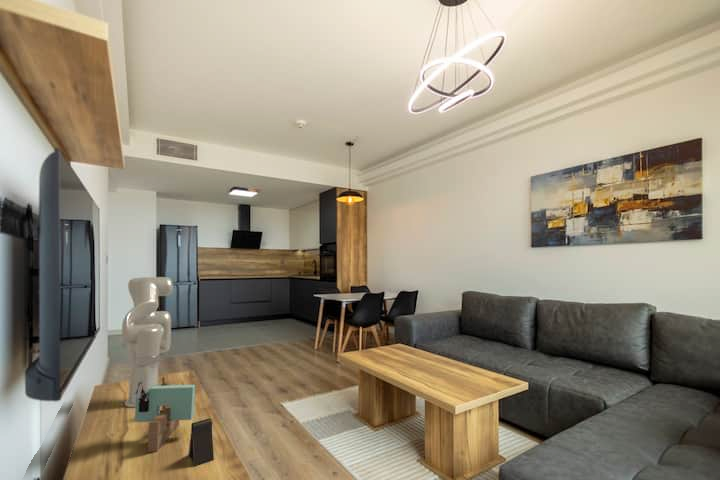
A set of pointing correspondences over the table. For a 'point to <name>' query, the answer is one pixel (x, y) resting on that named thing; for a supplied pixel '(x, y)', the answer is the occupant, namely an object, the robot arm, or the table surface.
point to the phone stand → (201, 442)
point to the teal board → (168, 402)
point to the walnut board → (161, 429)
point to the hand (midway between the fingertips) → (145, 409)
